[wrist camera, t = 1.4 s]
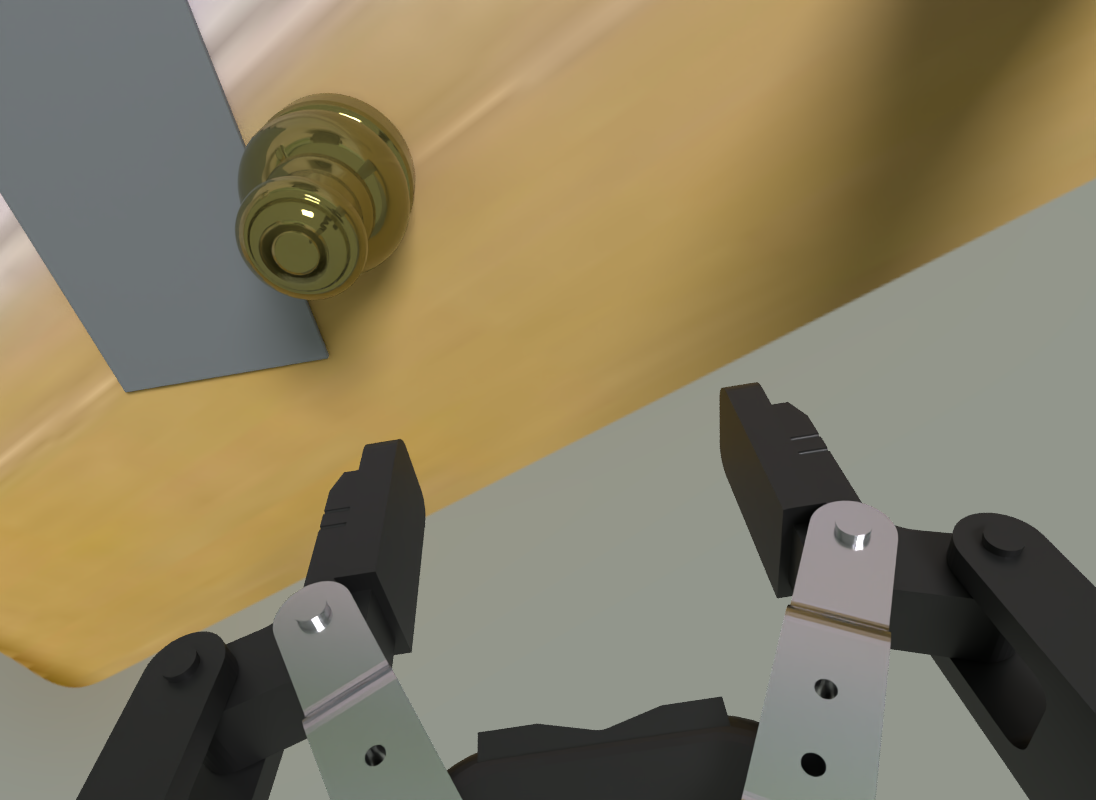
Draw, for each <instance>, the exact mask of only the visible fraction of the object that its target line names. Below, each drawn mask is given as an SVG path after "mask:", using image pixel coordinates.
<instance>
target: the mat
mask: <svg viewBox="0 0 1096 800" xmlns="http://www.w3.org/2000/svg"><path fill="white" fill-rule="evenodd" d="M245 148H246V146H245V144H244V141H243V139H242V136H241V134H240V131H239V129H238V126H237V124H236V121H235V119H234V116H233V114H232V111H231V109H230V106H229V104H228V101H227V99H226V96H225V94H224V91H223V89H222V86H221V84H220V81H219V79H218V76H217V74H216V71H215V69H214V66H213V64H212V61H211V59H210V56H209V54H208V51H207V48H206V46H205V43H204V41H203V38H202V36H201V33H200V31H199V28H198V26H197V23H196V21H195V18H194V16H193V13H192V11H191V8H190V6H189V3H188V1H187V0H0V193H1V195H2V196H3V198H4V199H5V201H6V203H7V204H8V206H9V207H10V209H11V210H12V212H13V214H14V215H15V217H16V218H17V220H18V222H19V223H20V225H21V226H22V228H23V230H24V231H25V233H26V234H27V236H28V238H29V239H30V241H31V242H32V244H33V246H34V247H35V249H36V250H37V252H38V254H39V255H40V257H41V258H42V260H43V262H44V263H45V265H46V266H47V268H48V270H49V271H50V273H51V274H52V276H53V277H54V279H55V281H56V282H57V284H58V285H59V287H60V289H61V290H62V292H63V293H64V295H65V297H66V298H67V300H68V301H69V303H70V305H71V306H72V308H73V309H74V311H75V313H76V314H77V316H78V317H79V319H80V321H81V322H82V324H83V325H84V327H85V329H86V330H87V332H88V333H89V335H90V336H91V338H92V340H93V341H94V343H95V344H96V346H97V348H98V349H99V351H100V352H101V354H102V356H103V357H104V359H105V360H106V362H107V364H108V365H109V367H110V368H111V370H112V372H113V373H114V375H115V376H116V378H117V380H118V381H119V383H120V384H121V386H122V388H123V389H124V391H125V392H131V391H137V390H142V389H148V388H154V387H160V386H166V385H172V384H178V383H184V382H190V381H196V380H202V379H208V378H213V377H219V376H225V375H231V374H237V373H243V372H249V371H255V370H261V369H267V368H273V367H278V366H284V365H290V364H296V363H302V362H308V361H314V360H320V359H326V358H328V357H329V354H328V351H327V349H326V346H325V344H324V341H323V339H322V336H321V334H320V331H319V329H318V326H317V324H316V321H315V319H314V316H313V314H312V311H311V309H310V306H309V304H308V301H307V300H303V299H297V298H292V297H289V296H286V295H283V294H281V293H279V292H277V291H275V290H273V289H271V288H270V287H268V286H267V285H265V284H264V283H263V282H262V281H260V280H259V279H258V278H257V277H256V276H255V275H254V274H253V273H252V272H251V270H250V269H249V268H248V267H247V265H246V264H245V262H244V260H243V258H242V257H241V254H240V252H239V250H238V246H237V243H236V237H235V222H236V217H237V213H238V211H239V208H240V206H241V204H240V200H239V195H238V184H237V180H238V170H239V164H240V161H241V157H242V155H243V152H244V150H245Z"/></svg>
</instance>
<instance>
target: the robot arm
mask: <svg viewBox="0 0 1096 800" xmlns="http://www.w3.org/2000/svg"><path fill="white" fill-rule="evenodd" d="M720 452H721V458H722V463H723V467H724V471H725V473H726V476H727V479H728V481H729V483H730V486H731V488H732V491H733V493H734V496H735V498H736V500H737V503H738V505H739V507H740V510H741V513H742V515H743V517H744V520H745V522H746V525H747V527H748V529H749V532H750V534H751V537H752V539H753V541H754V544H755V546H756V549H757V551H758V553H759V556H760V558H761V561H762V563H763V566H764V568H765V570H766V573H767V575H768V578H769V580H770V582H771V585H772V587H773V590H774V592H775V595H776V597H777V598H782V597H788V596H792V601H791V604H790V605H788V606H787V609H786V612H785V617H784V621H783V624H782V629H781V633H780V637H779V641H778V646H777V650H776V654H775V659H774V663H773V667H772V671H771V676H770V680H769V684H768V688H767V693H766V697H765V702H764V706H763V710H762V714H761V719H760V722H756V721H754V720H750V719H745V718H741V717H736V716H728V715H727V712H726V709H725V705H724V702H723V698H722V697H716V698H709V699H702V700H695V701H688V702H682V703H675V704H669V705H662V706H659V707H657V708H654V709H652V710H650V711H648V712H645V713H643V714H640V715H638V716H636V717H633V718H631V719H628V720H626V721H624V722H621V723H619V724H617V725H615V726H612V727H610V728H607V729H604V730H589V729H580V728H571V727H562V726H553V725H544V724H533V725H526V726H519V727H513V728H506V729H499V730H493V731H485V732H479V733H478V753H475V754H473V755H471V756H469V757H467V758H465V759H464V760H462V761H460V762H458V763H457V764H455V765H454V766H452V767H451V768H450V769H448V770H446V768H445V767H444V765H443V763H442V761H441V759H440V757H439V756H438V753H437V752H436V750H435V748H434V746H433V744H432V742H431V740H430V739H429V737H428V735H427V733H426V731H425V729H424V728H423V726H422V724H421V722H420V720H419V718H418V716H417V714H416V713H415V711H414V709H413V707H412V705H411V703H410V702H409V699H408V698H407V696H406V694H405V692H404V690H403V688H402V687H401V685H400V683H399V681H398V679H397V677H396V676H395V673H394V672H393V670H392V664H393V656H394V655H397V654H404V653H410V652H411V651H412V643H413V634H414V623H415V614H416V605H417V595H418V585H419V576H420V566H421V556H422V547H423V537H424V528H425V505H424V499H423V495H422V491H421V488H420V485H419V483H418V480H417V477H416V474H415V471H414V468H413V466H412V463H411V460H410V457H409V454H408V451H407V449H406V446H405V444H404V442H403V440H401V439H398V440H392V441H385V442H379V443H373V444H367V445H365V447H364V449H363V453H362V458H361V462H360V466H359V470H356V471H350V472H344V473H343V475H342V476H341V477H340V478H339V480H338V481H337V482H336V484H335V485H334V486H333V488H332V489H331V490H330V492H329V495H328V499H327V503H326V506H325V510H324V511H325V514H323V517H322V521H321V525H320V528H321V530H319V532H318V536H317V540H316V543H315V547H314V551H313V554H312V558H311V562H310V565H309V569H308V573H307V576H306V580H305V584H304V587H303V588H302V589H300V590H298V591H297V592H295V593H294V594H292V595H291V596H290V597H289V598H288V599H287V600H286V601H285V602H284V603H283V604H282V605H281V607H280V608H279V610H278V611H277V613H276V616H275V618H274V622H273V624H271V625H269V626H267V627H265V628H263V629H261V630H259V631H256V632H254V633H252V634H249V635H247V636H245V637H242V638H240V639H238V640H235V641H234V642H231V643H228V644H225V643H224V642H223V640H222V639H221V638H220V637H219V636H218V635H216V634H214V633H211V632H195V633H191V634H188V635H185V636H183V637H180V638H178V639H176V640H175V641H173V642H171V643H170V644H168V645H167V646H165V647H164V648H163V649H162V650H161V651H159V652H158V653H157V654H156V655H155V657H154V658H153V659H152V660H151V661H150V663H149V664H148V666H147V667H146V669H145V670H144V672H143V674H142V676H141V678H140V680H139V681H138V684H137V685H136V687H135V689H134V691H133V693H132V695H131V697H130V699H129V701H128V702H127V704H126V706H125V708H124V710H123V712H122V714H121V716H120V717H119V719H118V721H117V723H116V725H115V727H114V729H113V731H112V733H111V735H110V736H109V738H108V740H107V742H106V744H105V746H104V748H103V750H102V752H101V753H100V756H99V757H98V759H97V761H96V763H95V765H94V767H93V769H92V771H91V772H90V774H89V776H88V778H87V780H86V782H85V784H84V786H83V788H82V789H81V791H80V793H79V795H78V797H77V799H76V800H268V799H269V795H270V792H271V789H272V786H273V783H274V780H275V776H276V773H277V770H278V767H279V764H280V760H281V757H282V754H283V751H284V749H286V748H288V747H290V746H292V745H294V744H296V743H298V742H300V741H303V740H305V739H308V741H309V744H310V747H311V749H312V752H313V755H314V757H315V760H316V762H317V765H318V768H319V771H320V773H321V776H322V779H323V781H324V784H325V787H326V789H327V792H328V795H329V797H330V800H875V797H876V787H877V778H878V767H879V757H880V746H881V737H882V727H883V717H884V706H885V696H886V685H887V675H888V666H889V655H890V649H894V650H901V651H908V652H915V653H922V654H929V655H931V656H932V658H933V659H934V661H935V662H936V664H937V665H938V667H939V668H940V669H941V671H942V672H943V674H944V675H945V677H946V678H947V680H948V681H949V683H950V684H951V686H952V687H953V689H954V690H955V691H956V693H957V694H958V696H959V697H960V699H961V700H962V702H963V703H964V704H965V706H966V708H967V709H968V710H969V712H970V713H971V715H972V716H973V718H974V719H975V721H976V722H977V724H978V725H979V726H980V728H981V729H982V731H983V732H984V734H985V735H986V737H987V738H988V740H989V741H990V742H991V744H992V745H993V747H994V748H995V750H996V751H997V753H998V754H999V756H1000V757H1001V758H1002V760H1003V761H1004V763H1005V764H1006V766H1007V767H1008V769H1009V770H1010V772H1011V773H1012V774H1013V776H1014V778H1015V779H1016V780H1017V782H1018V783H1019V785H1020V786H1021V788H1022V789H1023V791H1024V792H1025V794H1026V795H1027V796H1028V798H1029V799H1030V800H1096V587H1095V586H1094V585H1093V584H1092V583H1091V582H1090V581H1089V580H1088V579H1087V578H1086V577H1085V576H1084V575H1083V574H1082V573H1081V572H1079V570H1078V569H1077V568H1076V567H1075V566H1074V565H1073V564H1072V563H1071V562H1069V560H1068V559H1067V558H1066V557H1065V556H1064V555H1062V553H1060V551H1059V550H1058V549H1057V548H1056V547H1055V546H1054V545H1053V544H1052V543H1051V542H1049V540H1048V539H1047V538H1045V536H1044V535H1042V534H1041V533H1040V532H1039V531H1038V530H1037V529H1035V528H1034V527H1032V526H1031V525H1029V524H1027V523H1025V522H1023V521H1021V520H1019V519H1016V518H1014V517H1010V516H1007V515H1002V514H996V513H978V514H973V515H969V516H967V517H965V518H963V519H961V520H960V521H959V522H958V523H957V524H956V526H955V527H954V530H953V533H941V532H931V531H920V530H912V529H906V528H902V527H898V526H895V525H894V523H893V522H892V521H891V520H890V518H889V517H887V516H886V515H885V514H884V513H882V512H881V511H879V510H878V509H876V508H874V507H872V506H869V505H867V504H863V503H862V502H861V501H860V499H859V498H858V496H857V494H856V493H855V491H854V489H853V488H852V486H851V485H850V483H849V481H848V480H847V478H846V477H845V475H844V473H843V472H842V470H841V469H840V467H839V465H838V464H837V462H836V461H835V459H834V457H833V456H832V454H831V453H830V451H828V450H827V446H826V444H825V443H824V441H823V440H822V438H821V437H819V434H818V432H817V430H816V428H815V427H814V425H813V424H812V422H811V421H810V419H809V417H808V416H807V415H806V414H804V413H803V412H801V411H800V410H798V409H797V408H796V407H794V406H793V405H791V404H790V403H788V402H786V403H779V404H774V405H771V403H770V401H769V399H768V398H767V396H766V394H765V392H764V390H763V389H762V387H761V385H760V384H759V383H757V382H756V383H749V384H743V385H737V386H731V387H725V388H721V390H720Z"/></svg>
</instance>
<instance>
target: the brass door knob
mask: <svg viewBox="0 0 1096 800" xmlns="http://www.w3.org/2000/svg"><path fill="white" fill-rule="evenodd" d="M237 184H238V195H239V200H240V204H241V206H240V208H239V211H238V213H237V217H236V222H235V237H236V243H237V246H238V250H239V252H240V254H241V257H242V258H243V260H244V262H245V264H246V265H247V267H248V268H249V269H250V270H251V272H252V273H253V274H254V275H255V276H256V277H257V278H258V279H259V280H260V281H262V282H263V283H264V284H265V285H267V286H268V287H270V288H271V289H273V290H275V291H277V292H279V293H281V294H283V295H286V296H289V297H292V298H297V299H303V300H321V299H326V298H330V297H333V296H336V295H338V294H340V293H342V292H343V291H345V290H346V289H348V288H349V287H350V286H351V285H352V284H353V283H354V282H355V281H356V279H357V278H358V277H359V275H360V274H361V273H364V272H367V271H369V270H371V269H373V268H375V267H376V266H378V265H380V264H381V263H382V262H384V261H385V260H386V259H387V258H388V257H389V256H390V255H391V254H392V253H393V252H394V251H395V249H396V248H397V247H398V245H399V244H400V242H401V240H402V238H403V236H404V234H405V231H406V228H407V224H408V220H409V215H410V212H411V209H412V204H413V194H414V188H415V171H414V165H413V160H412V157H411V154H410V151H409V149H408V146H407V144H406V142H405V140H404V139H403V137H402V135H401V134H400V132H399V131H398V130H397V128H396V127H395V126H394V125H393V124H392V123H391V121H390V120H389V119H388V118H387V117H385V116H384V115H383V114H382V113H381V112H379V111H378V110H377V109H375V108H374V107H372V106H371V105H369V104H367V103H365V102H363V101H361V100H358V99H356V98H353V97H350V96H346V95H342V94H334V93H320V94H313V95H309V96H306V97H303V98H300V99H298V100H296V101H294V102H292V103H291V104H289V105H288V106H286V107H285V108H284V109H283V110H281V111H280V112H278V113H277V114H276V115H274V116H273V117H272V118H271V119H270V120H269V121H268V122H267V123H266V124H265V125H264V126H263V127H262V128H261V129H260V130H259V131H258V132H257V133H256V134H255V135H254V136H253V137H252V139H251V140H250V142H249V143H248V145H247V146H246V148H245V150H244V152H243V155H242V157H241V161H240V164H239V170H238V180H237Z"/></svg>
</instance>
